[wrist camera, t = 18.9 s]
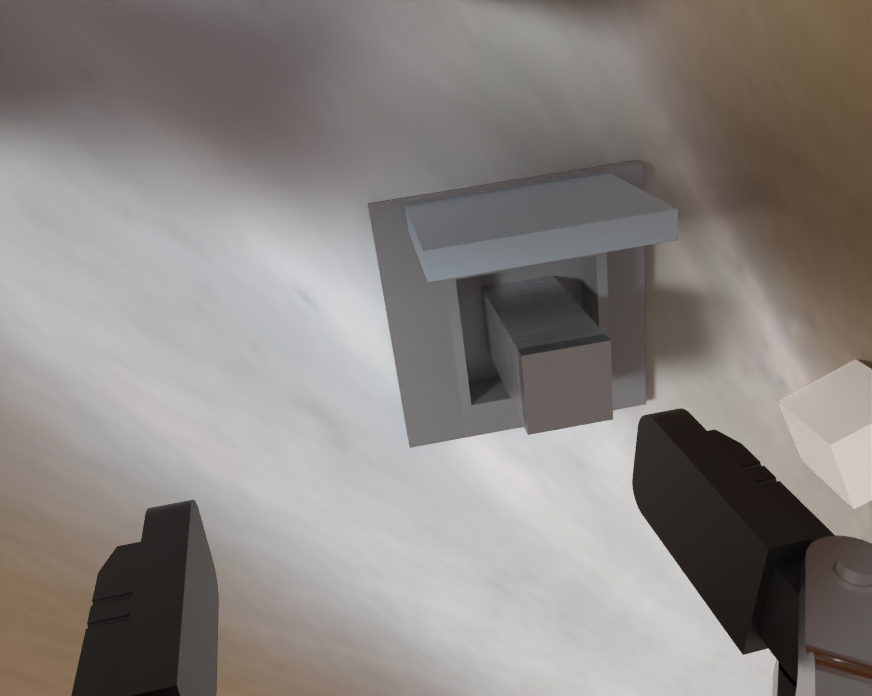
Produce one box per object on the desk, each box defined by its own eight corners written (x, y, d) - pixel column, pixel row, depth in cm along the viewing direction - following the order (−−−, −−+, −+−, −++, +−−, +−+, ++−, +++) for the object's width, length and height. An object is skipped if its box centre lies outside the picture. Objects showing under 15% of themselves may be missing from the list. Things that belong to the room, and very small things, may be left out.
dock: (408, 439, 48) (426, 535, 39) (367, 203, 42) (378, 253, 33) (640, 397, 50) (709, 480, 40) (637, 160, 43) (719, 196, 34)
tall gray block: (488, 352, 45) (528, 434, 36) (481, 287, 44) (521, 356, 35) (556, 341, 46) (612, 419, 37) (552, 275, 44) (610, 340, 35)
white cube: (875, 420, 53) (937, 466, 48) (801, 460, 54) (854, 509, 48) (854, 358, 51) (918, 398, 45) (777, 400, 51) (830, 445, 46)
